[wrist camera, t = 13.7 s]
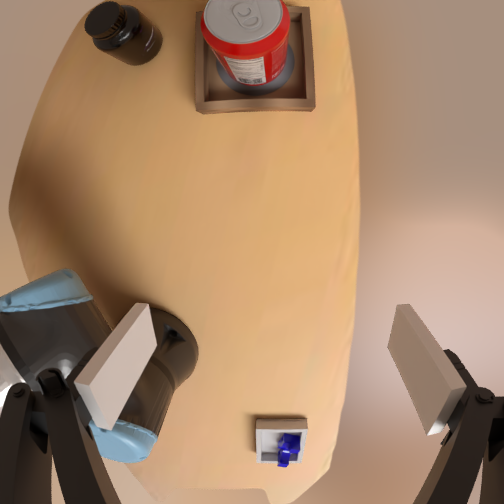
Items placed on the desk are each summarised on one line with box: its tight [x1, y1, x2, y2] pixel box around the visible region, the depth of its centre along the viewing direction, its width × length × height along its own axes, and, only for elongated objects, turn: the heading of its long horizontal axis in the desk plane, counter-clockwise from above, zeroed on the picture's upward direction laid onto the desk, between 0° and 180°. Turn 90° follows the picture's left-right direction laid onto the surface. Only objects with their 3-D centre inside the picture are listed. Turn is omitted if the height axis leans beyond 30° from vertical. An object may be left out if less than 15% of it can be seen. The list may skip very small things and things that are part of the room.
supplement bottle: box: [85, 1, 163, 66], centre depth 27 cm, size 7×7×12 cm
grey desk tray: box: [256, 419, 308, 463], centre depth 54 cm, size 10×14×3 cm
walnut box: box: [195, 6, 316, 114], centre depth 32 cm, size 14×14×4 cm
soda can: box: [200, 0, 290, 86], centre depth 25 cm, size 8×8×15 cm
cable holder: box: [278, 433, 301, 467], centre depth 53 cm, size 8×4×4 cm, turn 163°
